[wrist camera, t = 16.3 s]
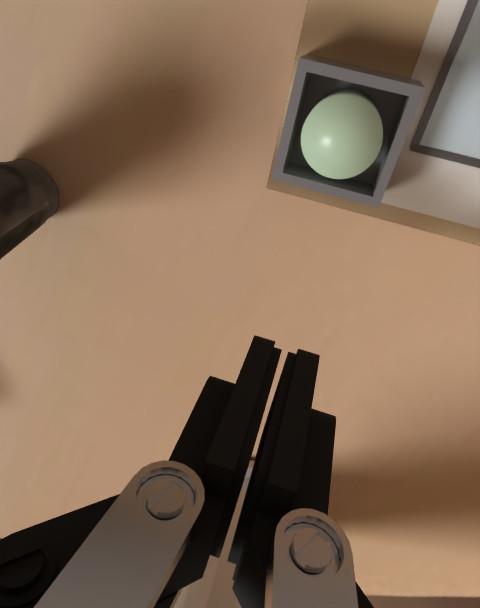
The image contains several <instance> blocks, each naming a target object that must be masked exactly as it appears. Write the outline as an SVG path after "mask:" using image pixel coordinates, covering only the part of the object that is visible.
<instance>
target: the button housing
mask: <svg viewBox="0 0 480 608" xmlns="http://www.w3.org/2000/svg"><path fill="white" fill-rule="evenodd" d="M340 89H354V90H358V91H361V92H363V93H365V94H367V95H368V96H369V97H370V98H372V99H373V100H374V102H375V103H376V104H377V106H378V108H379V110H380V113H381V117H382V124H383V141H382V146H381V149H380V151H379V154H378V156H377V157H376V159H375V161H374V162H373V163H372V164H371V165H370V166H369V167H368V168H367V169H366V170H365V171H363V172H362V173H360V174H358V175H356V176H354V177H351V178H346V179H332V178H328V177H325V176H323V175H321V174H319V173H317V172H316V171H315V170H314V169H313V168H312V167H311V166H310V165H309V164H308V162H307V161H306V159H305V157H304V155H303V152H302V148H301V132H302V128H303V125H304V122H305V120H306V118H307V117H308V115H309V114H310V112H311V111H312V109H313V108H314V106H315V105H316V104H317V103H318V102H319V101H320V100H321V99H322V98H323V97H324V96H326V95H327V94H329V93H331V92H333V91H336V90H340ZM424 89H425V87H424V85H423V84H422V82H421V81H418V80H414V79H410V78H406V77H402V76H397V75H393V74H389V73H385V72H380V71H376V70H372V69H368V68H363V67H359V66H355V65H351V64H346V63H342V62H338V61H334V60H329V59H325V58H321V57H317V56H312V55H308V54H305V55H303V56H301V57H300V58H299V60H298V65H297V69H296V73H295V78H294V82H293V87H292V91H291V95H290V100H289V104H288V109H287V113H286V118H285V122H284V126H283V131H282V135H281V140H280V144H279V148H278V153H277V157H276V162H275V166H274V170H273V175H272V180H276V181H280V182H283V183H287V184H291V185H295V186H298V187H302V188H306V189H310V190H313V191H317V192H321V193H325V194H328V195H332V196H336V197H339V198H343V199H347V200H351V201H354V202H358V203H362V204H366V205H369V206H373V207H377V208H379V206H380V204H381V201H382V198H383V196H384V193H385V191H386V188H387V185H388V183H389V180H390V178H391V175H392V172H393V170H394V167H395V165H396V162H397V159H398V157H399V154H400V151H401V149H402V146H403V144H404V141H405V138H406V136H407V133H408V131H409V128H410V125H411V123H412V120H413V118H414V115H415V112H416V110H417V107H418V104H419V102H420V99H421V97H422V94H423V91H424Z"/></svg>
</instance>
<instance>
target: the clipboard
mask: <svg viewBox="0 0 480 608" xmlns="http://www.w3.org/2000/svg"><path fill="white" fill-rule="evenodd" d="M305 54H308V55H312V56H317V57H321V58H325V59H329V60H334V61H338V62H342V63H346V64H351V65H355V66H359V67H363V68H368V69H372V70H376V71H380V72H385V73H389V74H393V75H397V76H402V77H406V78H410V79H414V80H418V81H421V82H422V84H423V85H424V87H425V89H424V91H423V94H422V97H421V99H420V102H419V104H418V107H417V110H416V112H415V115H414V118H413V120H412V123H411V125H410V128H409V131H408V133H407V136H406V138H405V141H404V144H403V146H402V149H401V151H400V154H399V157H398V159H397V162H396V165H395V167H394V170H393V172H392V175H391V178H390V180H389V183H388V185H387V188H386V191H385V193H384V196H383V198H382V201H381V204H380V206H379V208H377V207H373V206H369V205H366V204H362V203H358V202H354V201H351V200H347V199H343V198H339V197H336V196H332V195H328V194H325V193H321V192H317V191H313V190H310V189H306V188H302V187H298V186H295V185H291V184H287V183H283V182H280V181H276V180H272V175H273V170H274V166H275V162H276V157H277V153H278V148H279V144H280V140H281V135H282V131H283V126H284V122H285V118H286V113H287V109H288V104H289V100H290V95H291V91H292V87H293V82H294V78H295V73H296V69H297V65H298V60H299V58H300V57H301V56H303V55H305ZM267 188H268V189H272V190H276V191H279V192H283V193H287V194H290V195H294V196H298V197H301V198H305V199H309V200H312V201H316V202H320V203H324V204H327V205H331V206H335V207H338V208H342V209H346V210H349V211H353V212H357V213H361V214H364V215H368V216H372V217H375V218H379V219H383V220H386V221H390V222H394V223H398V224H401V225H405V226H409V227H412V228H416V229H420V230H423V231H427V232H431V233H435V234H438V235H442V236H446V237H449V238H453V239H457V240H460V241H464V242H468V243H472V244H475V245H479V246H480V0H308V4H307V8H306V13H305V17H304V22H303V26H302V31H301V35H300V40H299V44H298V49H297V53H296V58H295V62H294V67H293V71H292V76H291V80H290V85H289V89H288V94H287V98H286V103H285V107H284V112H283V116H282V121H281V125H280V129H279V134H278V138H277V143H276V147H275V152H274V156H273V161H272V165H271V170H270V174H269V179H268V183H267Z"/></svg>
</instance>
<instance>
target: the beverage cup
mask: <svg viewBox="0 0 480 608" xmlns="http://www.w3.org/2000/svg"><path fill="white" fill-rule="evenodd" d="M58 205H59V195H58V191H57V187H56V185H55V183H54V181H53V179H52V178H51V176H50V175H49V174H48V173H47V172H46V171H45V169H43V168H42V167H41V166H39V165H38V164H36V163H35V162H32V161H29V160H27V159H17V160H14V161H9V162H0V259H1V258H2V257H4V256H5V255H6V254H7V253H9V252H10V251H11V250H12V249H13V248H15V247H16V246H17V245H18V244H20V243H21V242H22V241H23V240H25V239H26V238H27V237H28V236H29V235H31V234H32V233H33V232H34V231H36V230H37V229H38V228H39V227H40V226H41V225H42V224H44V223H45V221H46V220H47V219H48V218H50V217H51V216H52V215H53V214H54V213H55V212H56V210H57V208H58Z"/></svg>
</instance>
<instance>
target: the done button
mask: <svg viewBox="0 0 480 608" xmlns="http://www.w3.org/2000/svg"><path fill="white" fill-rule="evenodd" d="M382 141H383V124H382V117H381V113H380V110H379V108H378V106H377V104H376V103H375V102H374V100H373V99H372V98H370V97H369V96H368V95H367V94H365V93H363V92H361V91H358V90H354V89H340V90H336V91H333V92H331V93H329V94H327V95H326V96H324V97H323V98H322V99H321V100H320V101H319V102H318V103H317V104H316V105H315V106H314V108H313V109H312V111H311V112H310V114H309V115H308V117H307V118H306V120H305V122H304V125H303V128H302V132H301V148H302V152H303V155H304V157H305V159H306V161H307V162H308V164H309V165H310V166H311V167H312V168H313V169H314V170H315V171H316V172H317V173H319V174H321V175H323V176H325V177H328V178H332V179H346V178H351V177H354V176H356V175H358V174H360V173H362V172H363V171H365V170H366V169H367V168H368V167H369V166H370V165H371V164H372V163H373V162H374V161H375V159H376V157H377V156H378V154H379V151H380V149H381V146H382Z"/></svg>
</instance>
